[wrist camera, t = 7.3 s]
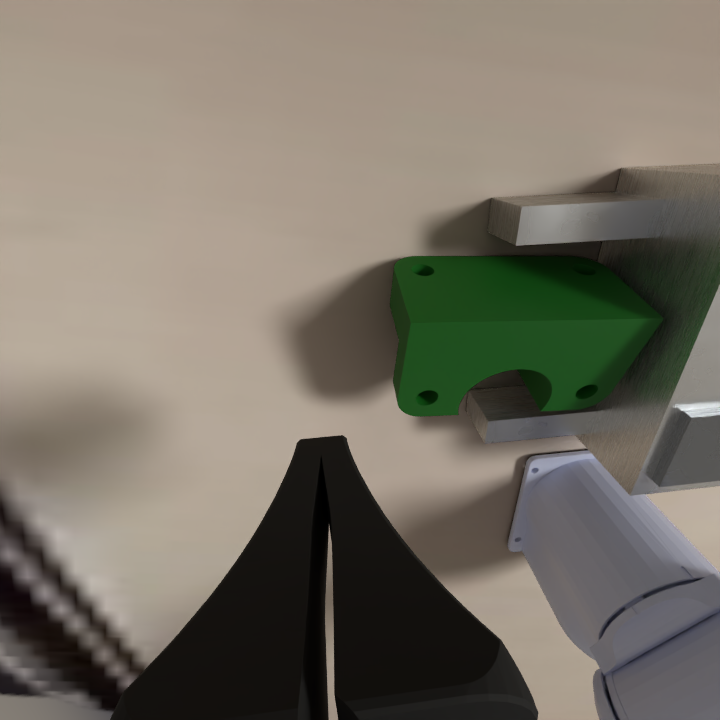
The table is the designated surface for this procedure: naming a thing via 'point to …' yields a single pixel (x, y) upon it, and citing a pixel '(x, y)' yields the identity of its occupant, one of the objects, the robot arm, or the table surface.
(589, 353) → the clamp
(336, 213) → the table surface
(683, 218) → the motor housing
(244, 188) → the table surface
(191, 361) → the table surface
